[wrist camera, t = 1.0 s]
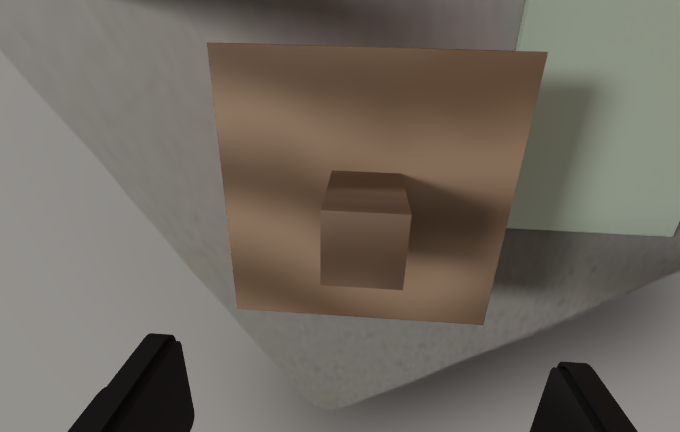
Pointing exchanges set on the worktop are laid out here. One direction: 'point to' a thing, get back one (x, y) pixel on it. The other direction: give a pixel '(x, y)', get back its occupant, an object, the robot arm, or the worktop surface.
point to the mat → (602, 118)
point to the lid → (370, 174)
